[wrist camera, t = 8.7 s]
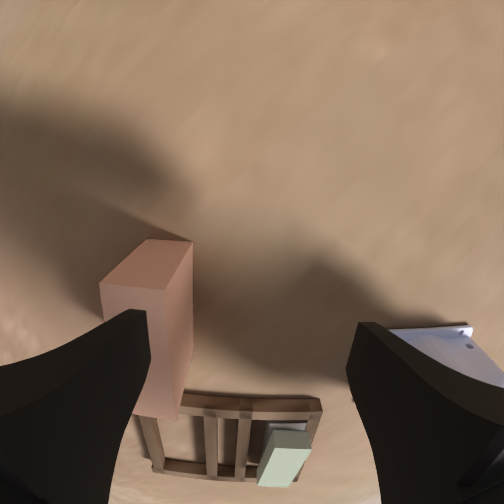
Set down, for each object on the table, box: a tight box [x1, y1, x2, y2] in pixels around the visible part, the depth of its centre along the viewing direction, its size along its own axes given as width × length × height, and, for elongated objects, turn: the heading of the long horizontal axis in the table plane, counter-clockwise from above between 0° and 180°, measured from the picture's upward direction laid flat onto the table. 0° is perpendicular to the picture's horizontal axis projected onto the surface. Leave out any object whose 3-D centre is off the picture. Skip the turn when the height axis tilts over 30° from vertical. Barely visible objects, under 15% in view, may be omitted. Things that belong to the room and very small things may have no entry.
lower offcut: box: [260, 420, 307, 461], centre depth 24 cm, size 3×9×2 cm, turn 176°
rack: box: [139, 393, 323, 482], centre depth 24 cm, size 15×12×2 cm
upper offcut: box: [257, 430, 312, 487], centre depth 22 cm, size 3×7×2 cm, turn 169°
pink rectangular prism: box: [99, 239, 194, 421], centre depth 17 cm, size 3×8×7 cm, turn 176°
